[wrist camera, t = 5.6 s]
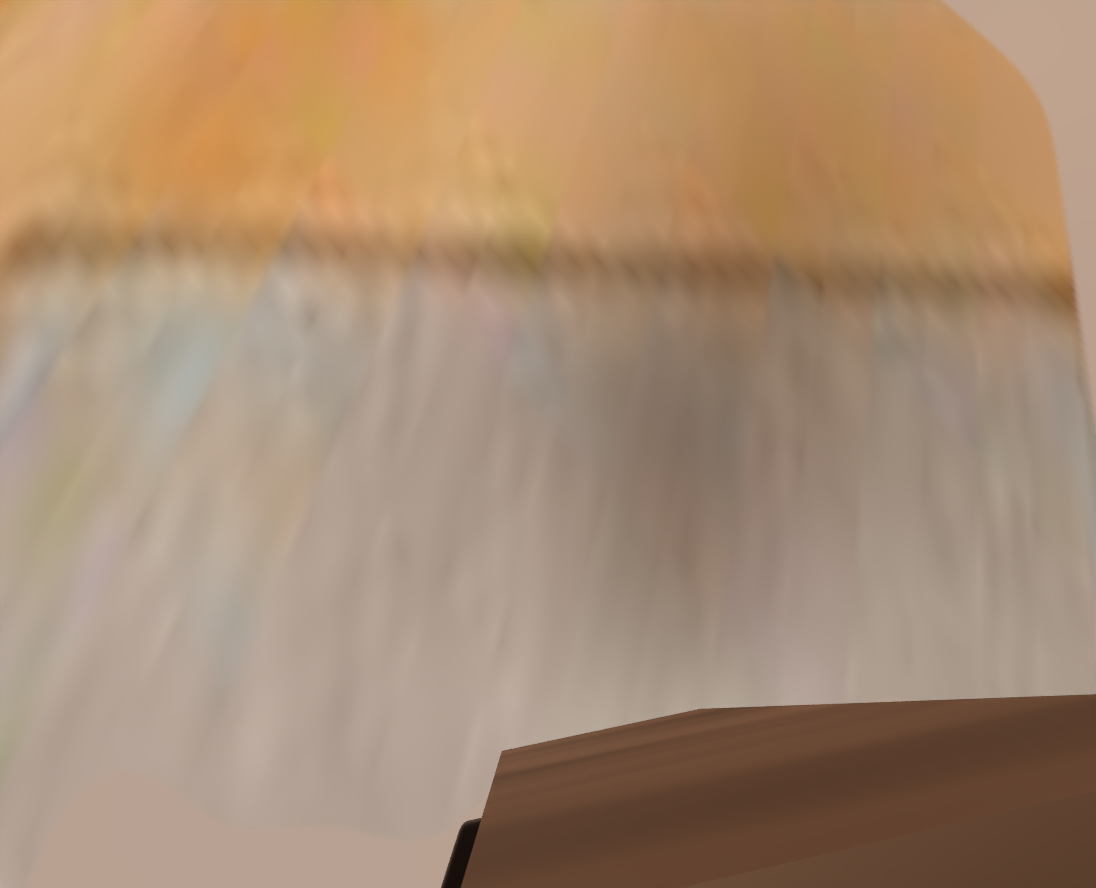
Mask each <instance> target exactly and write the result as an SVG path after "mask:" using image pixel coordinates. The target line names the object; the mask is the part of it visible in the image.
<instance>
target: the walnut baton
mask: <svg viewBox="0 0 1096 888" xmlns="http://www.w3.org/2000/svg"><path fill="white" fill-rule="evenodd" d="M461 888H1096V694H1093V695H1066V696H1039V697H1011V698H984V699H957V700H930V701H902V702H875V703H848V704H821V705H793V706H766V707H739V708H712V709H698V710H693V711H688V712H684V713H679V714H674V715H670V716H665V717H660V718H655V719H651V720H646V721H641V722H637V723H632V724H627V725H623V726H618V727H613V728H608V729H604V730H599V731H594V732H590V733H585V734H580V735H575V736H571V737H566V738H561V739H557V740H552V741H547V742H542V743H538V744H533V745H528V746H524V747H519V748H514V749H509V750H505V751H502V753H501V756H500V759H499V762H498V766H497V769H496V772H495V776H494V779H493V782H492V786H491V789H490V792H489V796H488V799H487V802H486V806H485V809H484V812H483V816H482V819H481V822H480V825H479V829H478V832H477V835H476V839H475V842H474V845H473V849H472V852H471V855H470V859H469V862H468V865H467V869H466V872H465V875H464V879H463V882H462V885H461Z"/></svg>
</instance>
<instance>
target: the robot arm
mask: <svg viewBox="0 0 1096 888" xmlns="http://www.w3.org/2000/svg"><path fill="white" fill-rule="evenodd" d="M481 819H482V818H478V819H474V820H469V821H466V822H465V823H464V824H463V825H462V826H461V828H460V830H459V833H458V836H457V839H456V842H455V845H454V848H453V852H452V855H451V858H450V861H449V864H448V867H447V871H446V874H445V877H444V880H443V883H442V886H441V888H461V885H462V882H463V879H464V875H465V872H466V869H467V865H468V862H469V859H470V855H471V852H472V849H473V845H474V842H475V839H476V835H477V832H478V829H479V825H480V822H481Z"/></svg>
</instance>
